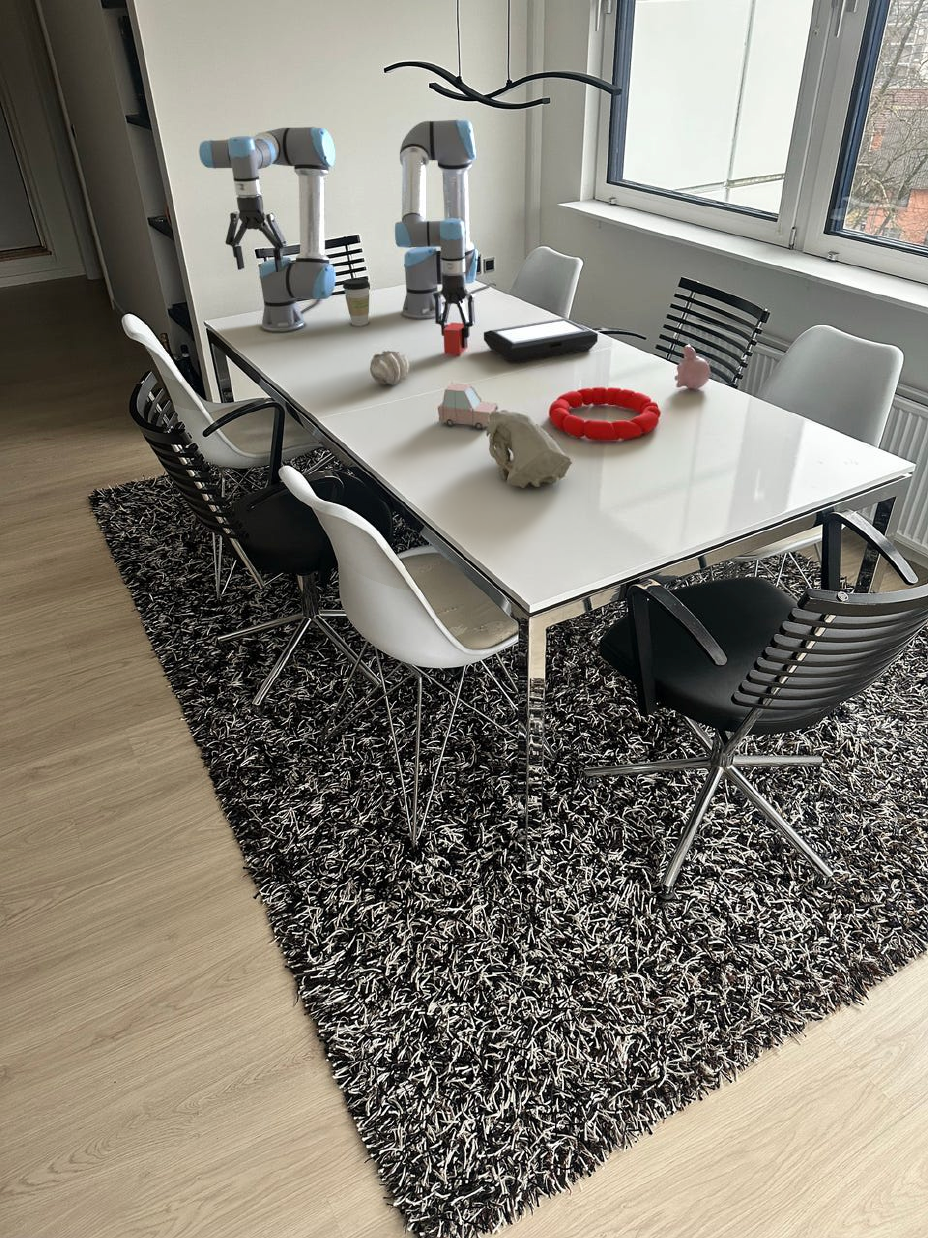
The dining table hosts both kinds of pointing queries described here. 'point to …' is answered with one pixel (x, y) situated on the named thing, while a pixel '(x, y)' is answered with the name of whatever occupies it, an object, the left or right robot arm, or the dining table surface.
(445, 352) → the block
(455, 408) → the toy car
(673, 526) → the dining table surface
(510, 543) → the dining table surface
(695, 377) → the figurine
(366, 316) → the coffee cup
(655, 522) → the dining table surface
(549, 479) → the animal skull
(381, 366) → the seashell
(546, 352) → the electronic device
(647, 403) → the decorative ring
